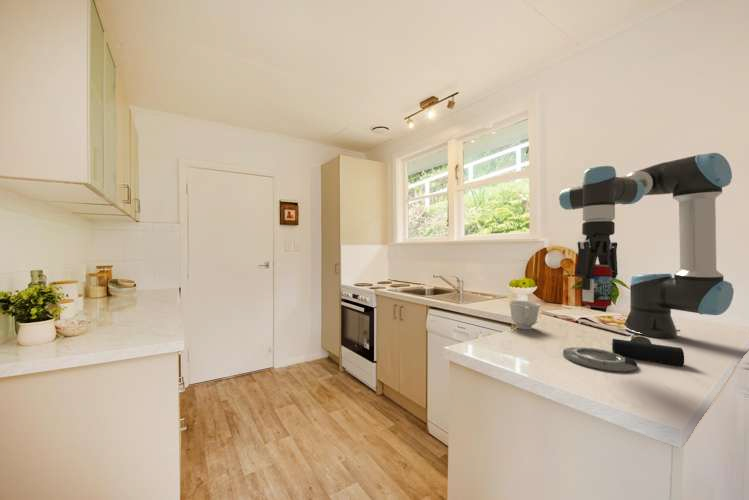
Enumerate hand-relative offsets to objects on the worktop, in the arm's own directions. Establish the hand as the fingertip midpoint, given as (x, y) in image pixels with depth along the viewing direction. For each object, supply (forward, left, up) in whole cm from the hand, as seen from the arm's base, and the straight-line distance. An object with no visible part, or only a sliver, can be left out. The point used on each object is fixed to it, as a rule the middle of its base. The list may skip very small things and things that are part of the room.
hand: (596, 300), depth 87 cm
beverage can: (0, 0, -2) cm, 2 cm away
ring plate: (0, +1, -17) cm, 17 cm away
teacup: (-9, -33, -17) cm, 38 cm away
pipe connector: (-17, +3, -18) cm, 25 cm away
